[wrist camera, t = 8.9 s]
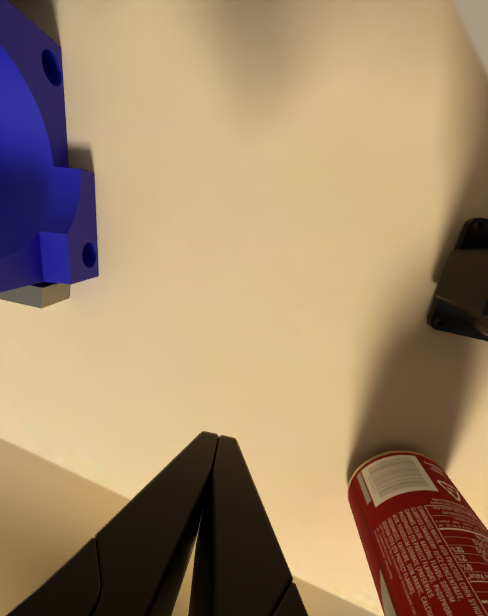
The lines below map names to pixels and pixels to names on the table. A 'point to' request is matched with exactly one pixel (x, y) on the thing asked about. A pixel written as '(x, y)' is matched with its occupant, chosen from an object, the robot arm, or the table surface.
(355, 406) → the table surface
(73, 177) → the cable clip
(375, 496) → the soda can
